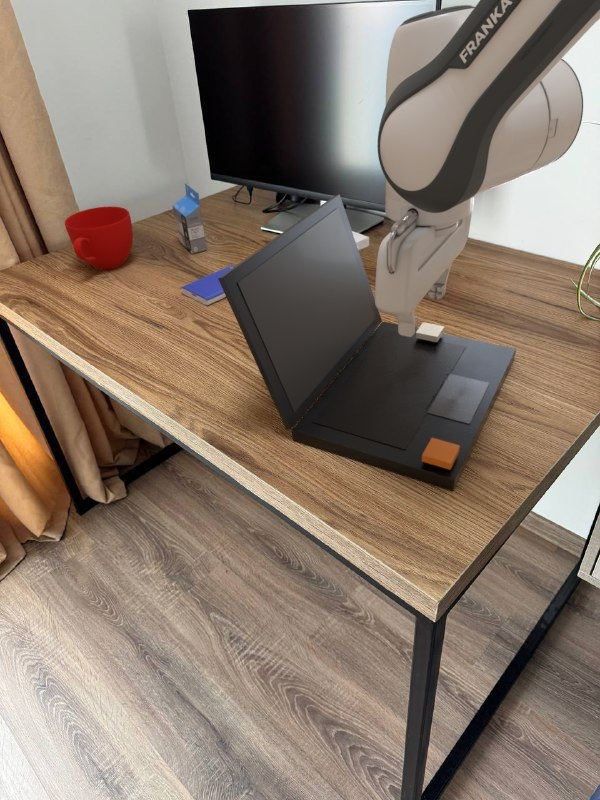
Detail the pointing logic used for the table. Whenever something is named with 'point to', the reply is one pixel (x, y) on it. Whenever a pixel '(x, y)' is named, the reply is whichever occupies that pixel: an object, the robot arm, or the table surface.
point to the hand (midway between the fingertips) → (422, 314)
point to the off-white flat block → (429, 332)
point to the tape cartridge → (190, 222)
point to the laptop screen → (303, 307)
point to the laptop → (408, 402)
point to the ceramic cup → (101, 236)
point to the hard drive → (206, 288)
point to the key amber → (440, 453)
